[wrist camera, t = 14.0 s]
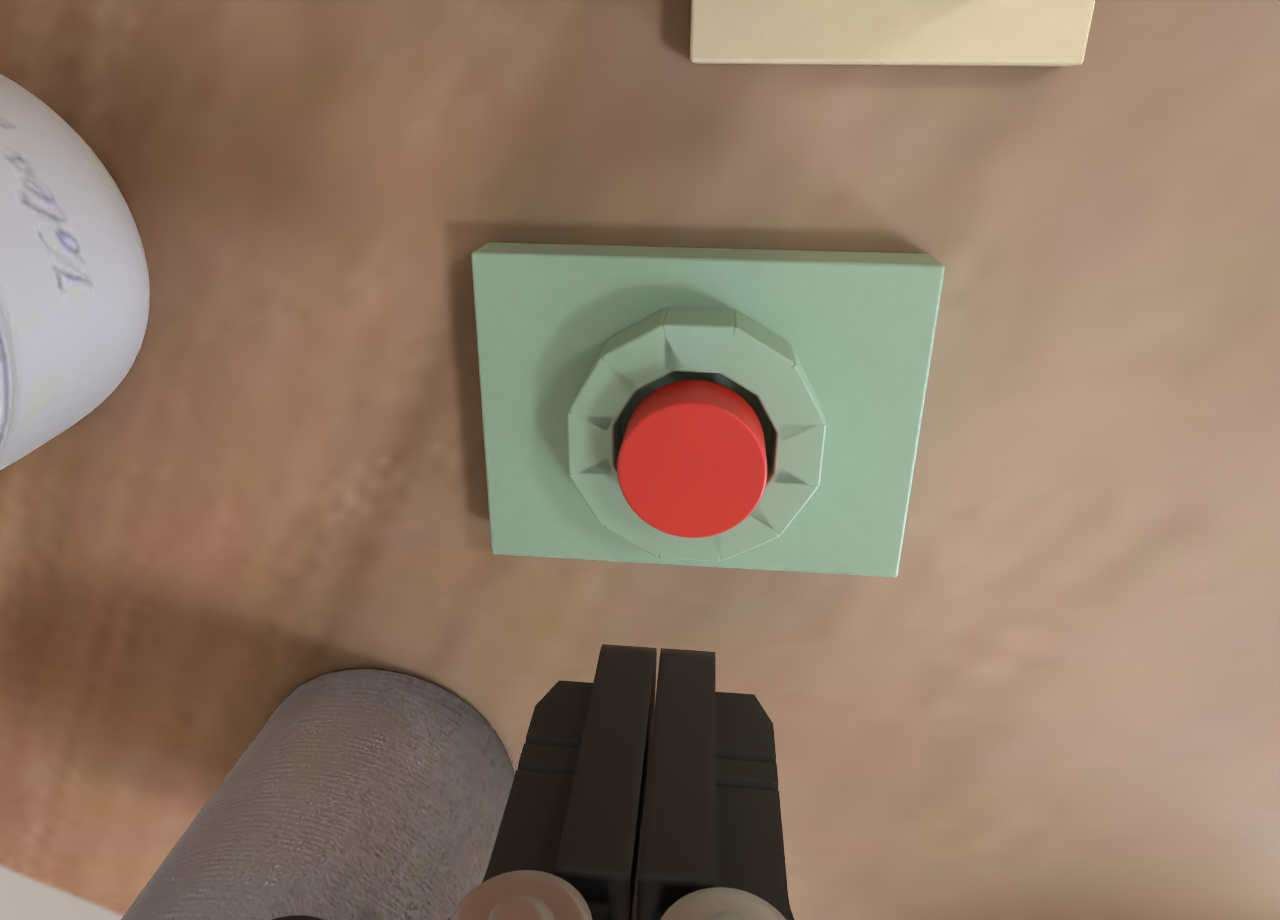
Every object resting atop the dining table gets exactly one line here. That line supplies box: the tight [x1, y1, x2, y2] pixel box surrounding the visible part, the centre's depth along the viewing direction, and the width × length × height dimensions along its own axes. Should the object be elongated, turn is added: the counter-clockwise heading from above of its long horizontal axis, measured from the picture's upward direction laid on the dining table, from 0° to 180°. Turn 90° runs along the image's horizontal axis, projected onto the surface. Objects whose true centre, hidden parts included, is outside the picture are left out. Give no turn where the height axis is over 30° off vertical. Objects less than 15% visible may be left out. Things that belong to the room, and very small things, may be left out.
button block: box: [471, 242, 945, 577], centre depth 23 cm, size 12×9×4 cm
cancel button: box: [617, 380, 767, 538], centre depth 21 cm, size 4×4×2 cm
